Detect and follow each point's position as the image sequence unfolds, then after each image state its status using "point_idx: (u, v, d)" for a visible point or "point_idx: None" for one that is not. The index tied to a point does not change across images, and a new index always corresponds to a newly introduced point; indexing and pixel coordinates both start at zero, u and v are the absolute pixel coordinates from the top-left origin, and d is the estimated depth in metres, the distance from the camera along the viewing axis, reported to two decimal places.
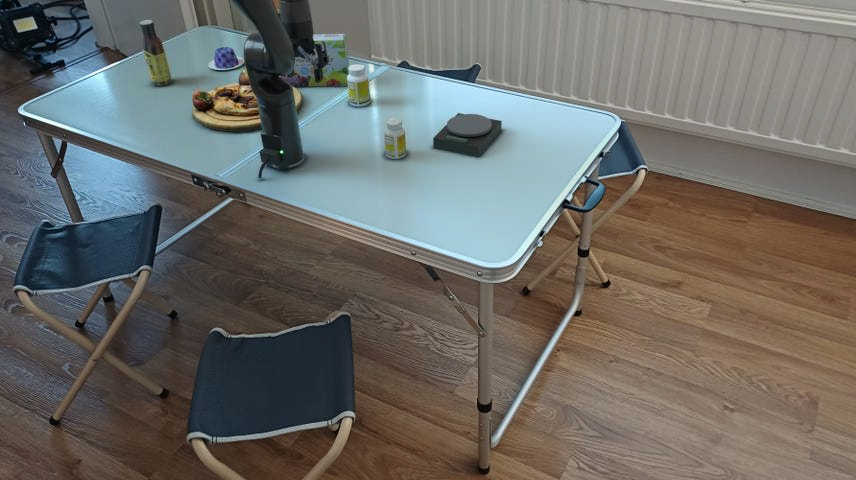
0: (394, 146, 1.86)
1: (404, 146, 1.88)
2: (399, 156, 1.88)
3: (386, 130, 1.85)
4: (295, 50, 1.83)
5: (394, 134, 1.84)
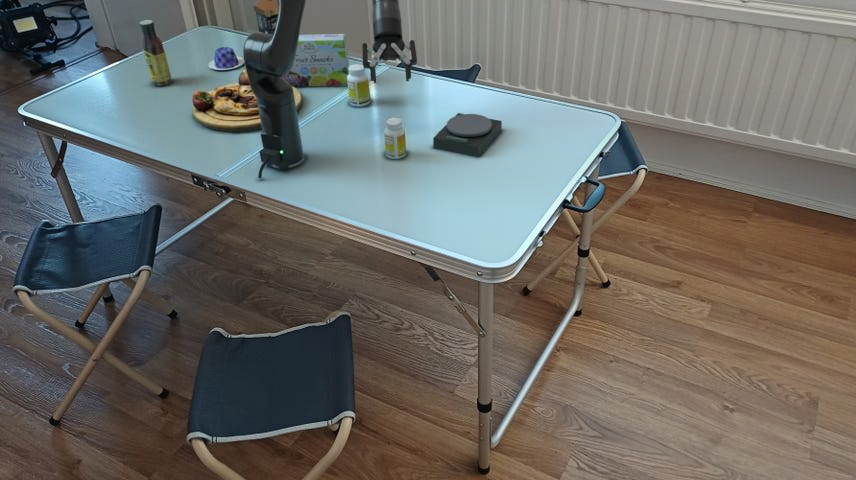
0: (394, 146, 1.86)
1: (404, 146, 1.88)
2: (399, 156, 1.88)
3: (386, 130, 1.85)
4: (385, 50, 1.90)
5: (394, 134, 1.84)
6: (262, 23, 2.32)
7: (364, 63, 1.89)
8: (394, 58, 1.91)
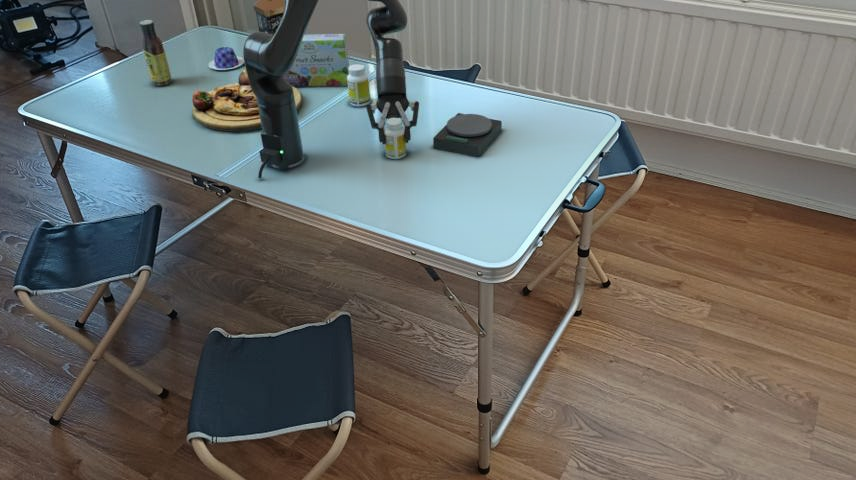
0: (394, 146, 1.86)
1: (404, 146, 1.88)
2: (399, 156, 1.88)
3: (386, 130, 1.85)
4: (389, 109, 1.86)
5: (394, 134, 1.84)
6: (262, 23, 2.32)
7: (373, 124, 1.85)
8: (398, 116, 1.87)
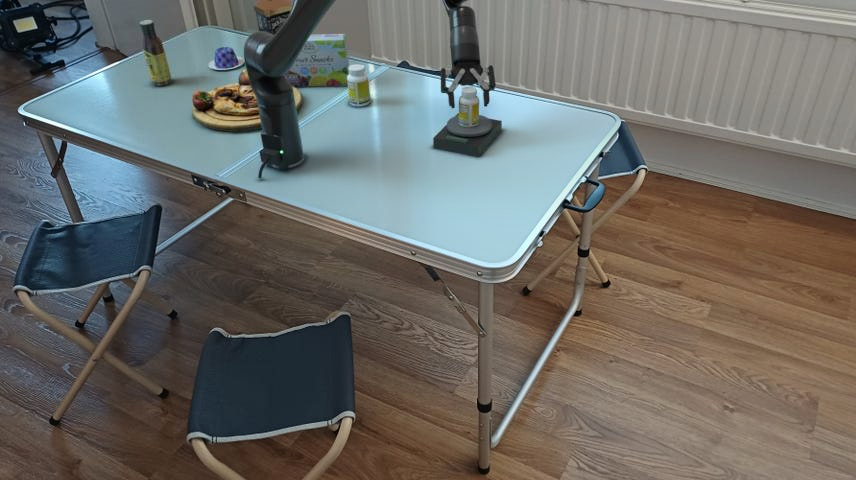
0: (468, 115, 1.89)
1: (478, 115, 1.91)
2: (473, 124, 1.91)
3: (461, 98, 1.89)
4: (464, 76, 1.89)
5: (469, 102, 1.87)
6: (262, 23, 2.32)
7: (443, 88, 1.88)
8: (472, 83, 1.90)
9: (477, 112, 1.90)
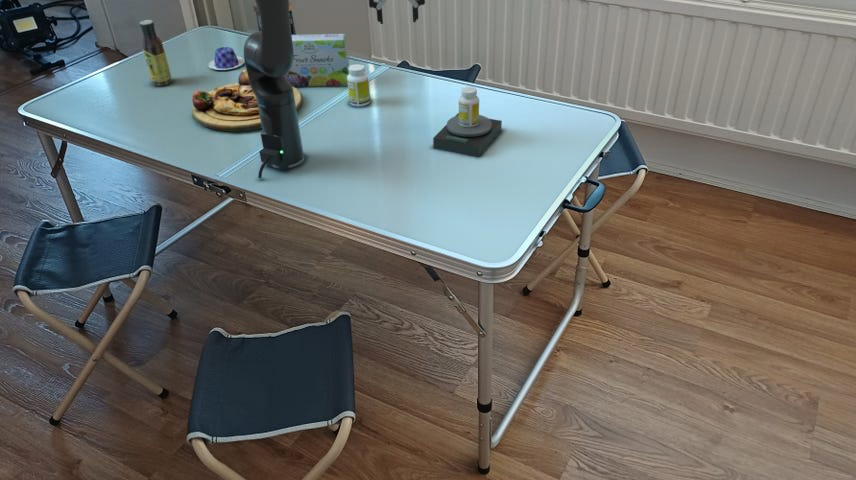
0: (468, 115, 1.89)
1: (478, 115, 1.91)
2: (473, 124, 1.91)
3: (461, 98, 1.89)
4: None
5: (469, 102, 1.87)
6: None
7: (371, 6, 1.84)
8: None
9: (477, 112, 1.90)
